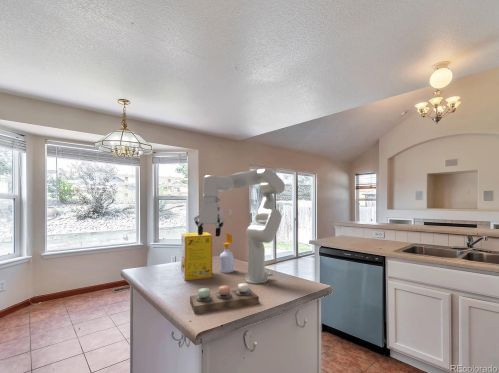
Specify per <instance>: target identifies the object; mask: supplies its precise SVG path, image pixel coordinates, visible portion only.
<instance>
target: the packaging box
mask: <svg viewBox="0 0 499 373" xmlns="http://www.w3.org/2000/svg"><path fill="white" fill-rule="evenodd" d="M180 235H181V238H180V240H181V242H180V243H181V244H180V245H181V246H180V251H181V252H180V254H181V255H180V275H181V276H182V279H183V281H191V280H202V279H209V278H213V235H212V234H211V233H209V232H207V231H206V232H204V231H203V235H198V232H187V233H186V232H185V233H183V232H182V233H181V234H180Z"/></svg>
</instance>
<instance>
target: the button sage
mask: <svg viewBox="0 0 499 373" xmlns="http://www.w3.org/2000/svg"><path fill="white" fill-rule="evenodd" d="M197 293H198V294H197V295H198V296H199V297H201V298H205V297H209V296H210V288H208V287H203V288H199V289H198V292H197Z"/></svg>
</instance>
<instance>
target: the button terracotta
mask: <svg viewBox="0 0 499 373" xmlns="http://www.w3.org/2000/svg"><path fill="white" fill-rule="evenodd" d="M230 288H231V287H230V286H229V285H220V286H218V292H219V294H221V295H226V294H229V293H230V291H231V290H230Z"/></svg>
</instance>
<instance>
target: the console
mask: <svg viewBox="0 0 499 373" xmlns="http://www.w3.org/2000/svg"><path fill="white" fill-rule="evenodd" d="M259 299H260V297H259V295H258V294H256V293H255V292H254V291H253V290H252V289H251V288H249V291H247V292H240V291H238V289H234V290H232V289H231V290H230V293H229V294H226V295H221V294H219V291H218V292H211V293H210V296H209V297H205V298H201V297H199V296H198V294H196V295H190V296H189V303H190V307H191V308H192V311H193V314H196V315H197V314H202V313H208V312H214V311H220V310H228V309H233V308H239V307H246V306H253V305H258V304H260V300H259Z"/></svg>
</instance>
